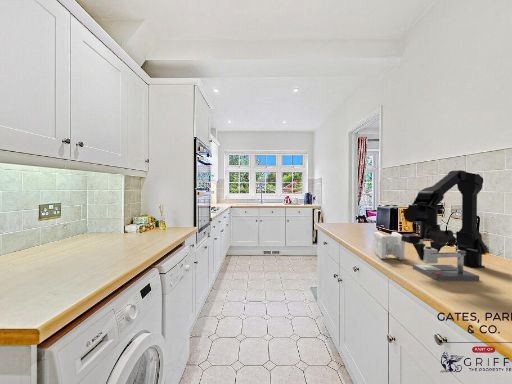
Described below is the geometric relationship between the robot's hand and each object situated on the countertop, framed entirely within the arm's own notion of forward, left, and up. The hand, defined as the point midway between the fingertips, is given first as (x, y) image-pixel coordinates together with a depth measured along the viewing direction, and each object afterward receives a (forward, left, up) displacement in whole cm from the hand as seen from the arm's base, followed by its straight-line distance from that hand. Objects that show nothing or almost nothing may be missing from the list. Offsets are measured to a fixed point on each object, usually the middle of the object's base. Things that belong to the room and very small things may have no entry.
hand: (427, 260), depth 103 cm
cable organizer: (+4, -21, -5) cm, 23 cm away
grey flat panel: (-5, +3, -5) cm, 7 cm away
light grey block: (0, 0, -1) cm, 1 cm away
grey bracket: (0, +9, -3) cm, 9 cm away
